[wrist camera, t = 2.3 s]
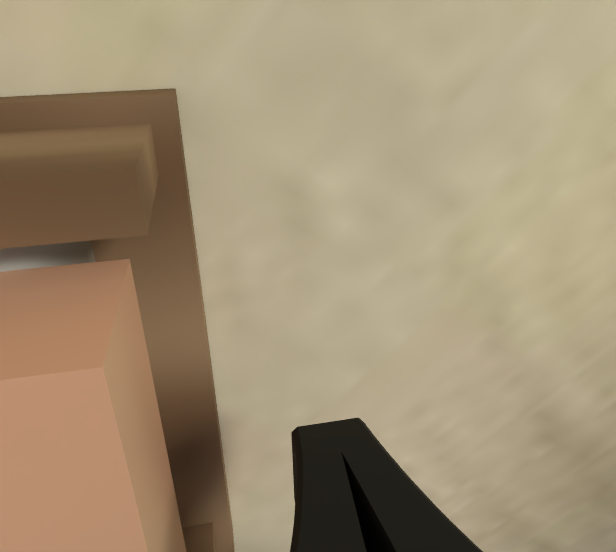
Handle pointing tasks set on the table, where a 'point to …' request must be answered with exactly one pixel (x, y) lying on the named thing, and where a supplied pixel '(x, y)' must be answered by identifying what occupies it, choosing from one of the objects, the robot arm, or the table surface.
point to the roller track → (125, 255)
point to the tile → (80, 416)
